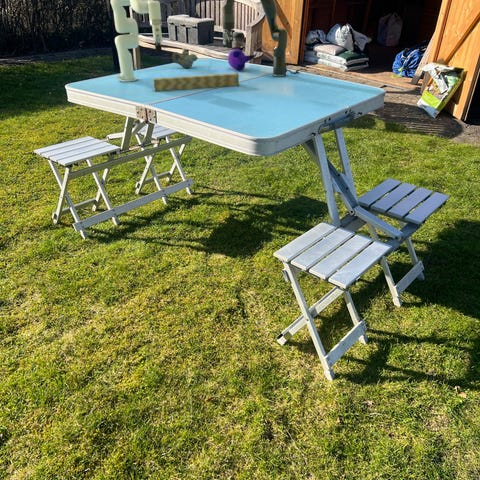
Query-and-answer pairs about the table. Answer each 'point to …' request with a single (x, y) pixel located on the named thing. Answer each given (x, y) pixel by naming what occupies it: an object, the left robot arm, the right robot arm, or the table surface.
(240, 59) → the toy
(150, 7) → the left robot arm
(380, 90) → the table surface
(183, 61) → the teapot
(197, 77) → the bar
